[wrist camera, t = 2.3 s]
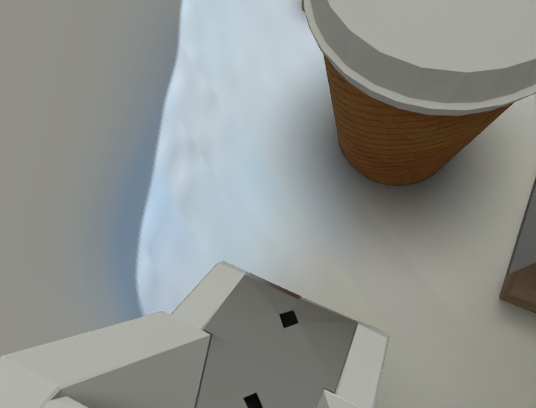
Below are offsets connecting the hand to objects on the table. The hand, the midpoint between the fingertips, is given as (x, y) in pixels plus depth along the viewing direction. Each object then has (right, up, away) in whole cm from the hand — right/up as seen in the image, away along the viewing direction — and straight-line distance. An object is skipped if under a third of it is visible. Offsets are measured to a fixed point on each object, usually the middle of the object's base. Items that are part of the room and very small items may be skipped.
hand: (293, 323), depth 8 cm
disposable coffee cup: (+7, +6, +18) cm, 20 cm away
